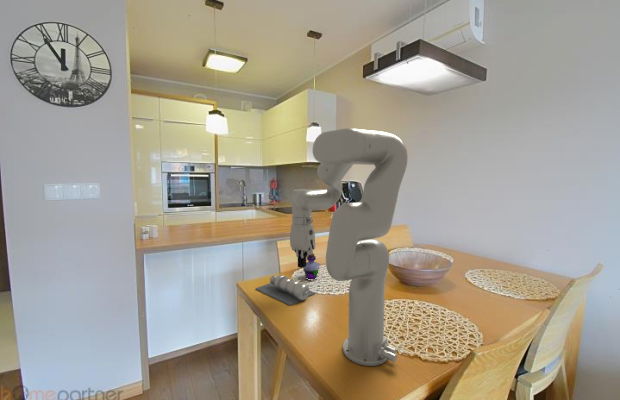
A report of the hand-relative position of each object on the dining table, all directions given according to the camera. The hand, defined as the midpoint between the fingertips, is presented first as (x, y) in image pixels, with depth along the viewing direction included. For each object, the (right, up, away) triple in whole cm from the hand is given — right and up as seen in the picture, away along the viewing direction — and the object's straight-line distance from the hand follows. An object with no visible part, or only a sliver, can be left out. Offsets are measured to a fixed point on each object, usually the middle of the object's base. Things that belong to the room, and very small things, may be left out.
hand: (302, 266), depth 106 cm
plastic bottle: (+2, -10, -2) cm, 10 cm away
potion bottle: (+4, -12, +23) cm, 26 cm away
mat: (-8, -13, +8) cm, 17 cm away
